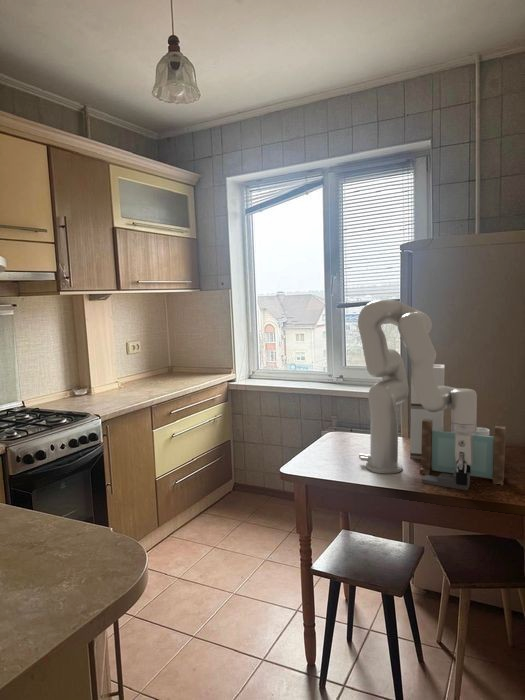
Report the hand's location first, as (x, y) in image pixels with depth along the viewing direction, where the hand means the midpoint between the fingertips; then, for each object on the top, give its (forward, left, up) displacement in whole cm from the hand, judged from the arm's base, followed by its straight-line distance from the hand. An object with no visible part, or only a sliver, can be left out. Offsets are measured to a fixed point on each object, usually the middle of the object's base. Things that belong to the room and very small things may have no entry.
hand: (463, 479), depth 160 cm
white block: (-16, +28, -2) cm, 32 cm away
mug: (+3, +31, -2) cm, 31 cm away
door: (-2, +10, -1) cm, 11 cm away
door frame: (-2, +10, -2) cm, 10 cm away
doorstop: (-5, 0, -2) cm, 6 cm away
